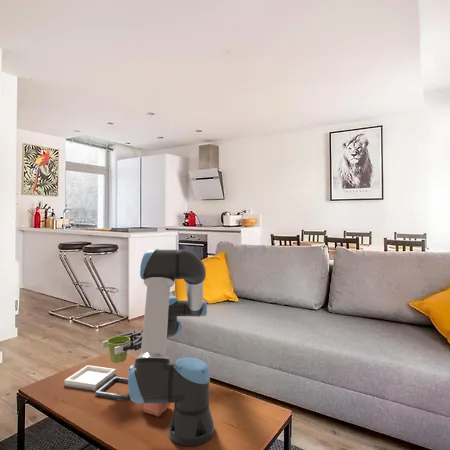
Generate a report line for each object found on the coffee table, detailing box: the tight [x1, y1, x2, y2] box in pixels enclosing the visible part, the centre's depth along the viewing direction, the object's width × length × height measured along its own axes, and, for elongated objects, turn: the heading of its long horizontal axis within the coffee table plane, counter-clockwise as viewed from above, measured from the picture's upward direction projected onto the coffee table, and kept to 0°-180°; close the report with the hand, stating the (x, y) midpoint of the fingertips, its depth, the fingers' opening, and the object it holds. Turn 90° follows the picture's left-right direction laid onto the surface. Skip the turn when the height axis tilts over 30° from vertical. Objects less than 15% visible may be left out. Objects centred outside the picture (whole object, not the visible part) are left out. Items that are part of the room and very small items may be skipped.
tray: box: [64, 364, 117, 392], centre depth 145 cm, size 15×15×2 cm
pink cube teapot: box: [142, 403, 172, 417], centre depth 122 cm, size 8×12×8 cm, turn 66°
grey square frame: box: [94, 375, 131, 402], centre depth 137 cm, size 14×14×2 cm
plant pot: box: [107, 336, 131, 364], centre depth 138 cm, size 9×9×9 cm
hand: (108, 347), depth 135 cm, fingers closed on plant pot, 9 cm apart
